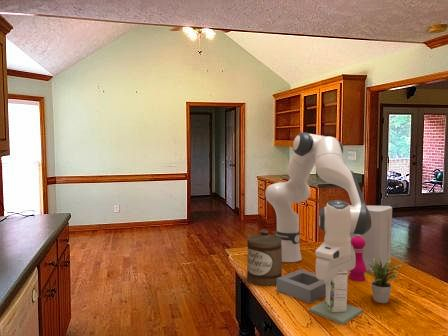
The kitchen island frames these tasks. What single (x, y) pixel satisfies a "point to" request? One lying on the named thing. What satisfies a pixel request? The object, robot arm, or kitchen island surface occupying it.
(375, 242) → the white triangular bin
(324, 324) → the kitchen island surface
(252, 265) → the wooden container
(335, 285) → the syrup box
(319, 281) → the frame
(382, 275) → the house plant
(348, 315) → the mat
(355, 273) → the pepper mill
